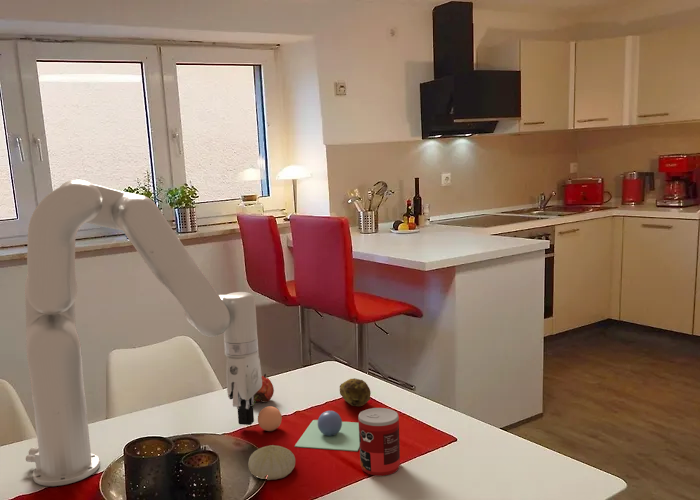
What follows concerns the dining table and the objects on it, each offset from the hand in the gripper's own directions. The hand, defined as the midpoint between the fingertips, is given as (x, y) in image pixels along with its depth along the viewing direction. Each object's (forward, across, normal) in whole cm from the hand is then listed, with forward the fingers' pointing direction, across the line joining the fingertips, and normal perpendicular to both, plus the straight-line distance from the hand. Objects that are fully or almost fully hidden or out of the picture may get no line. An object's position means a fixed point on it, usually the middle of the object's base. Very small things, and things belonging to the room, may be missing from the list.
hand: (246, 423), depth 147 cm
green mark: (+2, 0, -21) cm, 21 cm away
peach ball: (-1, 0, -6) cm, 6 cm away
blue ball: (-1, 0, -20) cm, 20 cm away
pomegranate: (+2, +16, +3) cm, 16 cm away
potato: (+2, +17, -22) cm, 28 cm away
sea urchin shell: (+2, -18, -13) cm, 22 cm away
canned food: (+2, -13, -34) cm, 36 cm away
